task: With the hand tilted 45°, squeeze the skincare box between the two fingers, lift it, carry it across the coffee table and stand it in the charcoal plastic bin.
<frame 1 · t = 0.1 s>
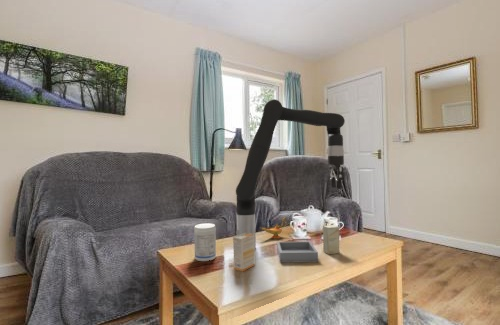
hand: (336, 188, 133), 29 cm above the table, tool pointing down, fingers open, 8 cm apart
bin: (296, 255, 122), on the table
magic lamp: (273, 237, 153), on the table
supplement box: (244, 267, 110), on the table
supplement tub: (205, 258, 121), on the table
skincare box: (331, 252, 126), on the table
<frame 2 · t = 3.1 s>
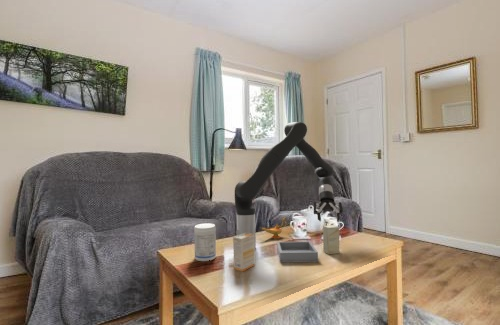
hand: (329, 220, 133), 13 cm above the table, tool tilted 45°, fingers open, 8 cm apart
nothing on the table moved.
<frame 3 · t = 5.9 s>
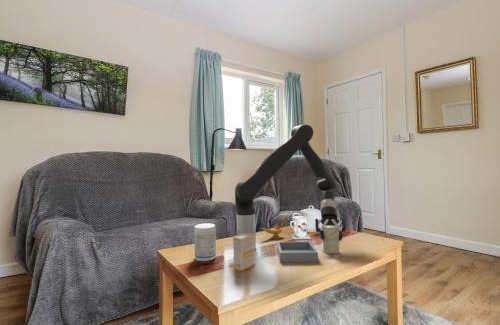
hand: (331, 239, 125), 6 cm above the table, tool tilted 45°, fingers closed on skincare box, 7 cm apart
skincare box: (331, 252, 126), on the table, touching gripper
everything else where it was.
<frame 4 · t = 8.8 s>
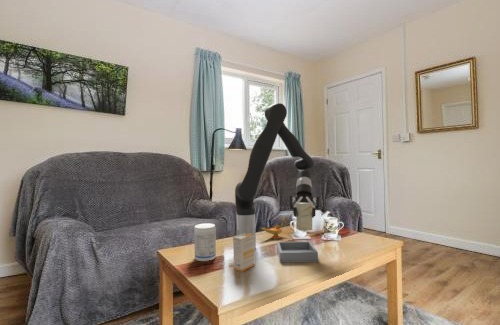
hand: (304, 216, 122), 18 cm above the table, tool tilted 45°, fingers closed on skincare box, 7 cm apart
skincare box: (304, 229, 123), point 11 cm above the table, touching gripper
everything else where it was.
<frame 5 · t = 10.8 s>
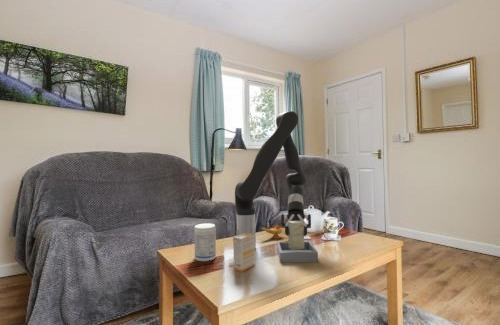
hand: (296, 235, 121), 10 cm above the table, tool tilted 45°, fingers closed on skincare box, 7 cm apart
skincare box: (296, 248, 123), point 3 cm above the table, touching gripper
everything else where it was.
when the fingers open (9 cm above the table, at t = 12.1 s): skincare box drops 1 cm, resting on bin.
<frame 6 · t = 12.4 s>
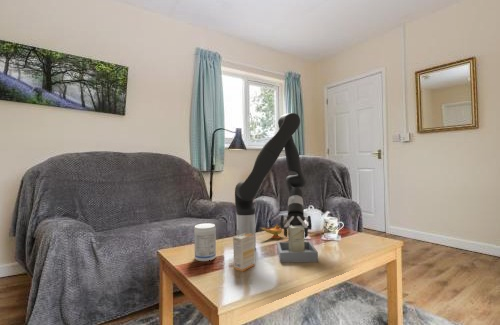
hand: (295, 236, 121), 9 cm above the table, tool tilted 45°, fingers open, 8 cm apart
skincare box: (296, 253, 123), point 1 cm above the table, touching bin
everything else where it was.
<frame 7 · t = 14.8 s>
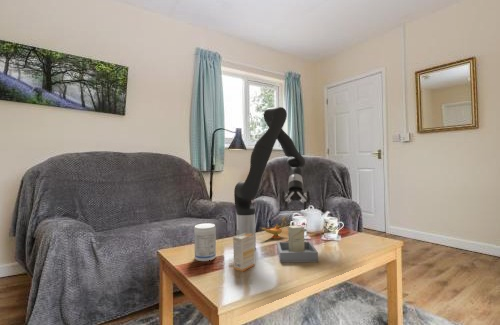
hand: (295, 209, 134), 19 cm above the table, tool tilted 45°, fingers open, 8 cm apart
nothing on the table moved.
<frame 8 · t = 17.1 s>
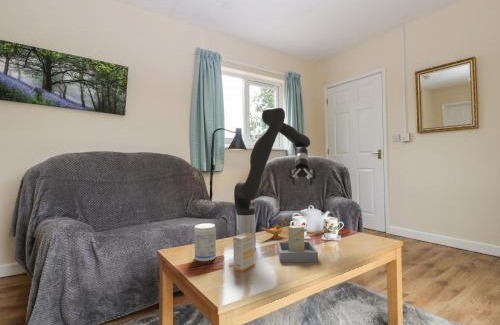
hand: (302, 184, 142), 31 cm above the table, tool tilted 45°, fingers open, 8 cm apart
nothing on the table moved.
at the end: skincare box inside the target area on the bin (0.3 cm from its centre), point 0.8 cm above the bin's base; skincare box tilted 0°; the gripper is holding nothing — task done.
